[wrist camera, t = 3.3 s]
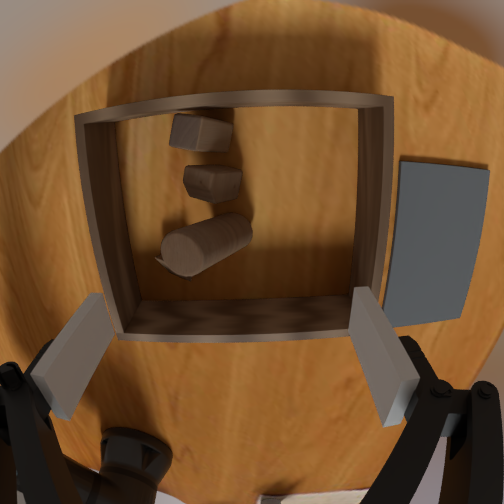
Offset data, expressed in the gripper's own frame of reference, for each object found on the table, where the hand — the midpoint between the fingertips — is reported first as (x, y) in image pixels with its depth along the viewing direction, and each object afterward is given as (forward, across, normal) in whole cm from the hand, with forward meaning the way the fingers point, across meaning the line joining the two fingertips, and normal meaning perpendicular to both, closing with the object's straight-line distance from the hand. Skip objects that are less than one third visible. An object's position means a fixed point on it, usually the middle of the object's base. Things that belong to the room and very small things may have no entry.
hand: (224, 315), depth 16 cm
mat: (+20, -25, +6) cm, 32 cm away
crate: (+20, 0, 0) cm, 20 cm away
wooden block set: (+20, +3, -1) cm, 20 cm away
